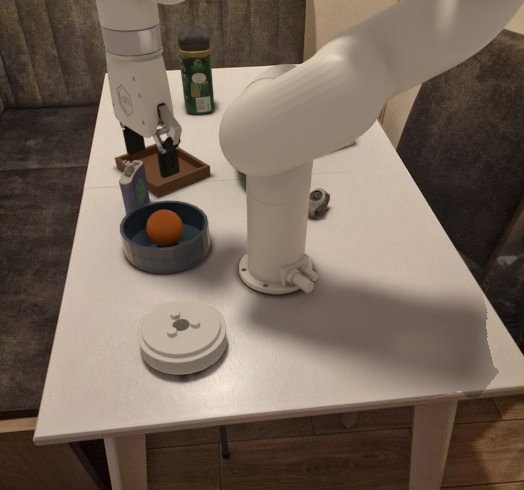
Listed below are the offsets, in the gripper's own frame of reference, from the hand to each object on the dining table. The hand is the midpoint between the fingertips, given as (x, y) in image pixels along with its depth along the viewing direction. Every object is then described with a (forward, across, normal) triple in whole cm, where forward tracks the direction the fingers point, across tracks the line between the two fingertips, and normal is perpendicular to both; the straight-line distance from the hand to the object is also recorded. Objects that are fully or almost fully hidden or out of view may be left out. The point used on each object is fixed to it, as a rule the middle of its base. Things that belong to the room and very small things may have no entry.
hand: (153, 163), depth 77 cm
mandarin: (+12, +1, 0) cm, 12 cm away
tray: (+16, -24, +15) cm, 32 cm away
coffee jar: (+16, -47, +42) cm, 65 cm away
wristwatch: (+16, +10, +29) cm, 35 cm away
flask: (+16, -12, +2) cm, 20 cm away
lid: (+16, +23, -12) cm, 30 cm away
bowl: (+16, +1, 0) cm, 16 cm away
